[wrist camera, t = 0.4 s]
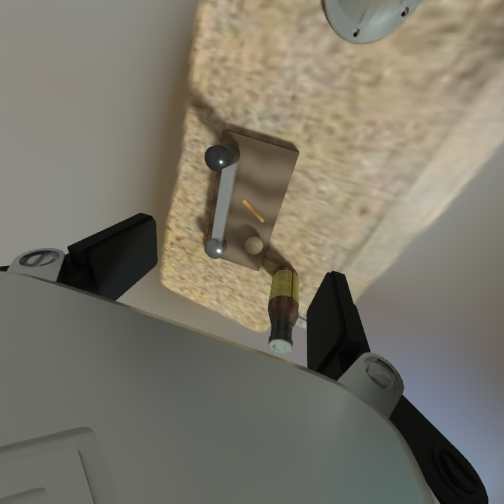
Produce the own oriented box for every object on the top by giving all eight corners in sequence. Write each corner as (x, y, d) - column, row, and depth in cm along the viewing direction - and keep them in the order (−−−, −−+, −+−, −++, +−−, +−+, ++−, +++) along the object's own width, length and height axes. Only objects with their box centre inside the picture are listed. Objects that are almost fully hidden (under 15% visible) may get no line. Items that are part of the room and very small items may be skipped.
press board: (226, 129, 37) (214, 129, 32) (299, 152, 37) (298, 155, 32) (208, 248, 52) (197, 261, 47) (260, 266, 51) (255, 281, 46)
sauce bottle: (268, 276, 52) (251, 344, 35) (283, 260, 49) (271, 327, 32) (289, 290, 53) (282, 362, 36) (305, 275, 49) (305, 347, 33)
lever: (225, 254, 49) (209, 278, 41) (208, 248, 49) (189, 271, 41) (248, 147, 36) (231, 151, 28) (225, 139, 36) (202, 142, 28)
